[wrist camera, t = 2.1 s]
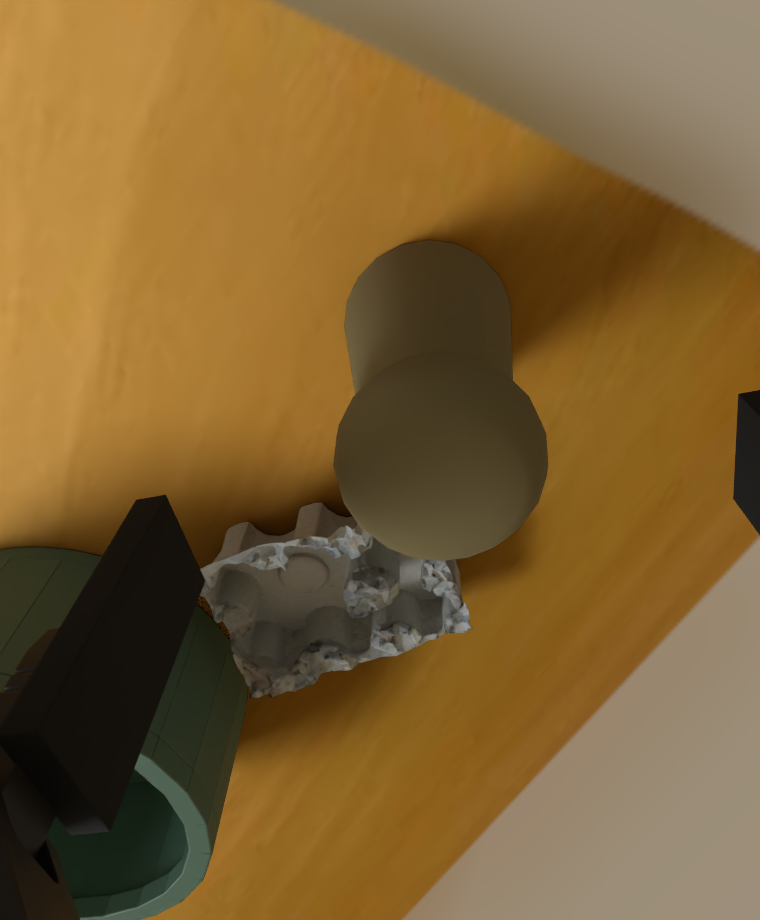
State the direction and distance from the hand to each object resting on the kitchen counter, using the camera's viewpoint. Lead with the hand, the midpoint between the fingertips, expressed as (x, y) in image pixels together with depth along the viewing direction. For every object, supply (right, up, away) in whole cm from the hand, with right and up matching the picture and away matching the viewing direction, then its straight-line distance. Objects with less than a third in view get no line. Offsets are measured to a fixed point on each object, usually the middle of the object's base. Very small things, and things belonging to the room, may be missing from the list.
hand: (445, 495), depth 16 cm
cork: (0, +6, +9) cm, 11 cm away
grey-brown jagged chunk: (-3, -4, +15) cm, 16 cm away
